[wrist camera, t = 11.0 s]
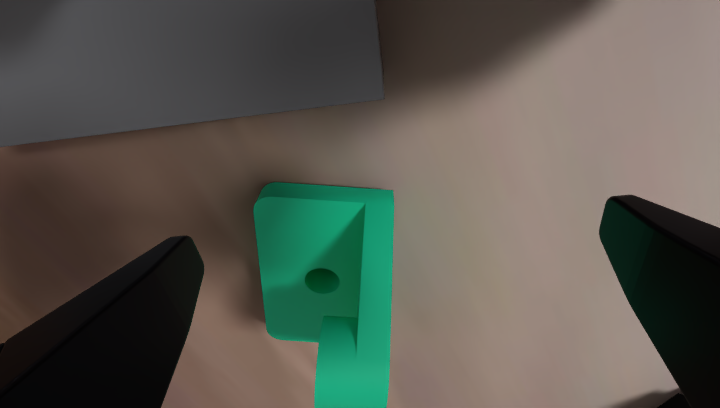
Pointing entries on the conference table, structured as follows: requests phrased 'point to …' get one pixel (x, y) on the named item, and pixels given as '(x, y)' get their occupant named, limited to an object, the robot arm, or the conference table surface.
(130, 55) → the mount block
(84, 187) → the conference table surface
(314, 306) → the camera mount
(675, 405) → the game console
